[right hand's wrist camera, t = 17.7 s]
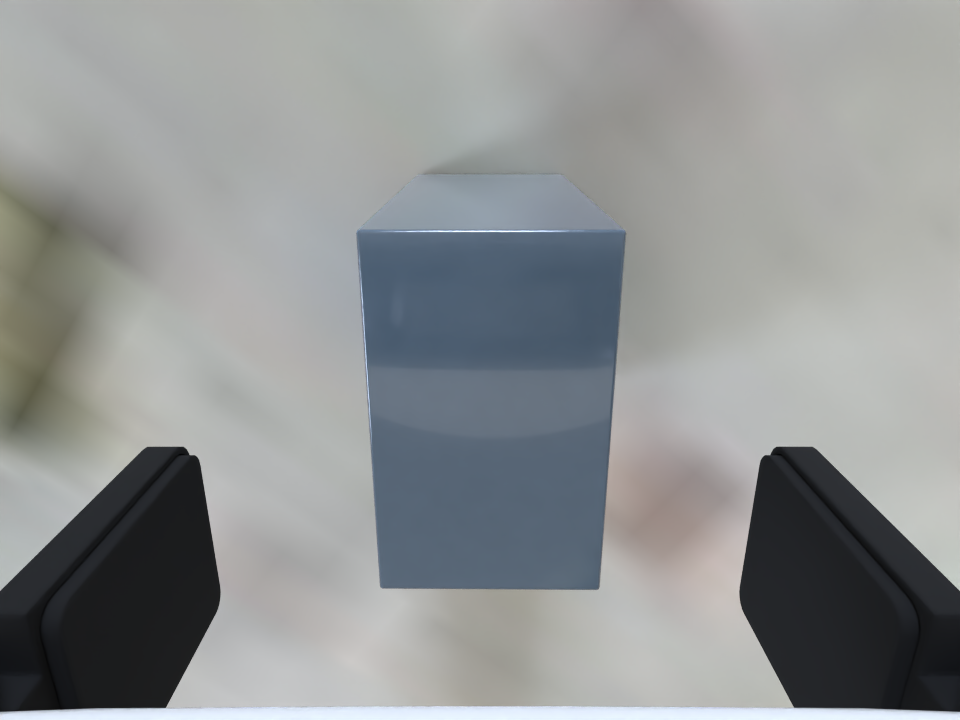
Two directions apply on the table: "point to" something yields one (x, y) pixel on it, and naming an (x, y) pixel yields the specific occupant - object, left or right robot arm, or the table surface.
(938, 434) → the table surface
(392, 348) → the block
